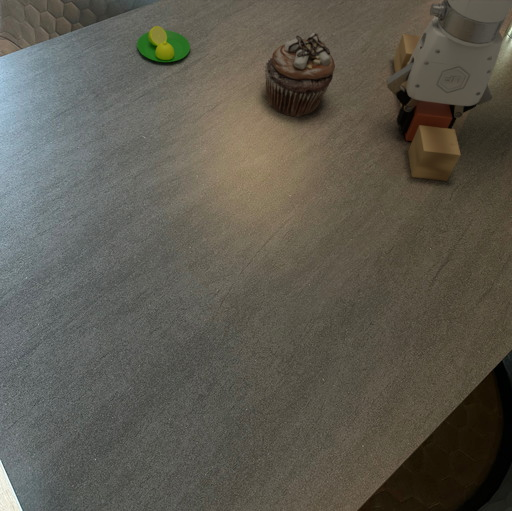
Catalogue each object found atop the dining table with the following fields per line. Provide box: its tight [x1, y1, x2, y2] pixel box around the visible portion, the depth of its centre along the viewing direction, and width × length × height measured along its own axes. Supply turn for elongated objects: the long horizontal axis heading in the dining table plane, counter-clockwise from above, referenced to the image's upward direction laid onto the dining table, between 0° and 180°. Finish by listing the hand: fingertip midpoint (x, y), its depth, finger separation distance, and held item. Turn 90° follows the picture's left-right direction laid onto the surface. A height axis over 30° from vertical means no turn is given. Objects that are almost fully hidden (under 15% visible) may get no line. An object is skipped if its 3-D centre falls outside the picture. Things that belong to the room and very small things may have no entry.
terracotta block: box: [404, 101, 452, 142], centre depth 90 cm, size 5×5×5 cm
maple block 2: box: [407, 125, 461, 182], centre depth 86 cm, size 5×5×5 cm
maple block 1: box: [392, 33, 422, 74], centre depth 98 cm, size 5×5×5 cm
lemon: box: [136, 25, 191, 63], centre depth 95 cm, size 8×8×3 cm
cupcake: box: [264, 32, 336, 117], centre depth 89 cm, size 10×10×10 cm
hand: (421, 128), depth 91 cm, fingers closed on terracotta block, 5 cm apart
